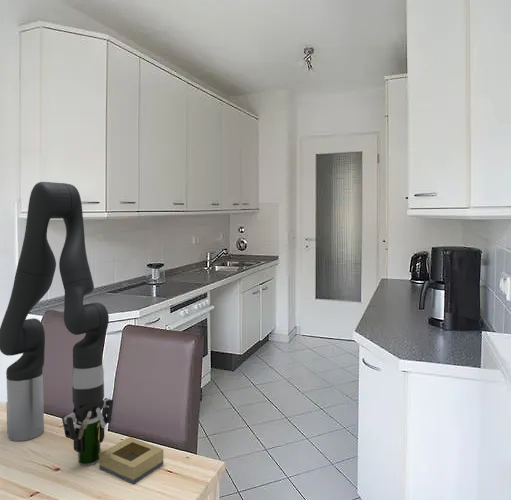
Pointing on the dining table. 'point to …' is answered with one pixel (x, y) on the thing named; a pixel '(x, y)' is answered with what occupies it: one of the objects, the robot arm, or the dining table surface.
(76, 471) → the dining table surface
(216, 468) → the dining table surface
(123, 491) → the dining table surface
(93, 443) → the beer can
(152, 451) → the socket block
